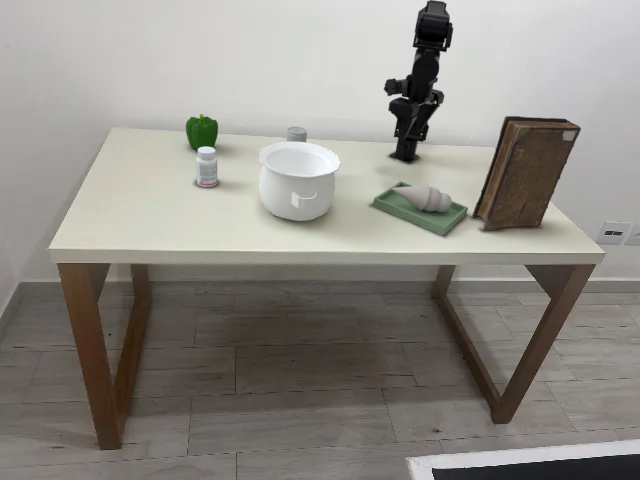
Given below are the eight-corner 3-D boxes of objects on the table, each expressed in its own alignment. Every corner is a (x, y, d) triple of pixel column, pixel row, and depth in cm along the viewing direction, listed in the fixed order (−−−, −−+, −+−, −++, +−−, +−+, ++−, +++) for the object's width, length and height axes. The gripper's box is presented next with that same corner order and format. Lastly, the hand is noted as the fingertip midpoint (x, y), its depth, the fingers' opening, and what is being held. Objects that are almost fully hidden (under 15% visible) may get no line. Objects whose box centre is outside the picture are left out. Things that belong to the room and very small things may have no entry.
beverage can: (305, 173, 128) (310, 129, 121) (298, 181, 124) (303, 135, 117) (288, 169, 129) (291, 125, 122) (281, 176, 125) (284, 131, 118)
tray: (399, 188, 126) (400, 181, 125) (466, 215, 118) (468, 207, 117) (372, 205, 117) (374, 198, 116) (443, 235, 109) (445, 227, 107)
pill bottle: (221, 184, 118) (221, 151, 113) (204, 189, 115) (204, 155, 110) (209, 176, 120) (208, 144, 116) (192, 181, 117) (191, 148, 113)
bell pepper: (192, 140, 138) (191, 105, 132) (221, 145, 137) (221, 109, 132) (181, 151, 131) (179, 115, 125) (211, 156, 130) (211, 119, 125)
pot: (254, 184, 120) (256, 136, 113) (324, 186, 123) (330, 139, 116) (260, 233, 101) (262, 179, 95) (342, 233, 105) (350, 181, 98)
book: (533, 216, 121) (572, 117, 107) (548, 232, 115) (591, 129, 102) (469, 215, 118) (501, 113, 104) (482, 231, 112) (517, 125, 98)
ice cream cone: (383, 202, 117) (443, 219, 118) (390, 198, 111) (453, 215, 112) (389, 178, 118) (448, 195, 119) (396, 172, 112) (458, 190, 113)
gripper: (411, 59, 127) (400, 118, 136) (374, 69, 114) (364, 133, 123) (451, 69, 122) (436, 130, 131) (417, 81, 109) (403, 147, 118)
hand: (410, 134), depth 126 cm, fingers open, 9 cm apart
